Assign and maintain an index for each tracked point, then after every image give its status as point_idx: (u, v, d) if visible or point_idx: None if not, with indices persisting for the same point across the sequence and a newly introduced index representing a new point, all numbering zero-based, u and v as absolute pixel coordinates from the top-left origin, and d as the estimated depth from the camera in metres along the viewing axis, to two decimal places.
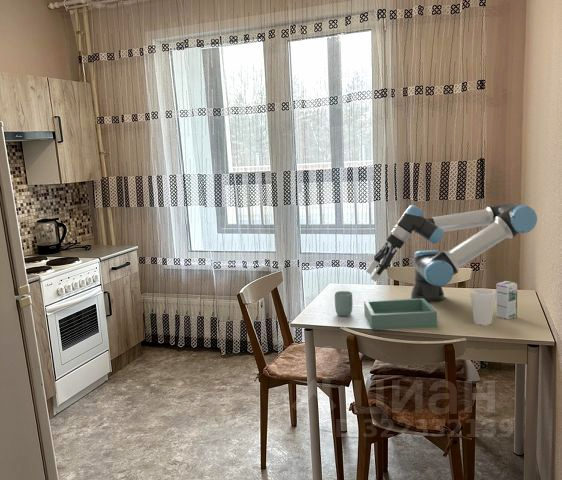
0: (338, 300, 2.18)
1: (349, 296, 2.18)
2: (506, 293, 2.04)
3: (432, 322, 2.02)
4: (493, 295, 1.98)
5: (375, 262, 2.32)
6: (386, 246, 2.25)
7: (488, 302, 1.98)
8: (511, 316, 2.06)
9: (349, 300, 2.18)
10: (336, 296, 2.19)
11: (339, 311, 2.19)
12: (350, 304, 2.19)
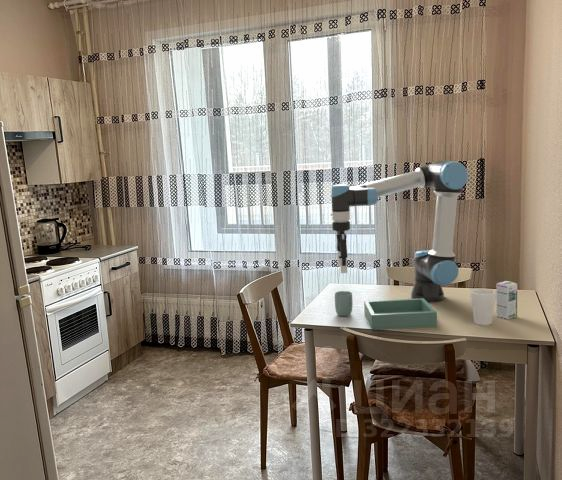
0: (338, 300, 2.18)
1: (349, 296, 2.18)
2: (506, 293, 2.04)
3: (432, 322, 2.02)
4: (493, 295, 1.98)
5: (340, 253, 2.25)
6: (337, 235, 2.17)
7: (488, 302, 1.98)
8: (511, 316, 2.06)
9: (349, 301, 2.18)
10: (336, 296, 2.19)
11: (339, 311, 2.19)
12: (350, 304, 2.19)
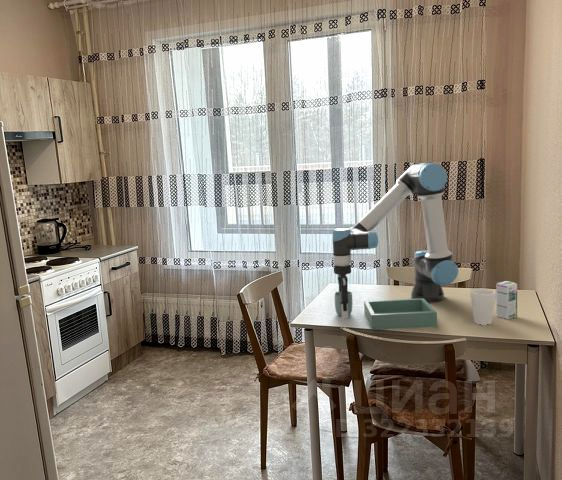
0: (338, 300, 2.18)
1: (349, 296, 2.18)
2: (506, 293, 2.04)
3: (432, 322, 2.02)
4: (493, 295, 1.98)
5: None
6: (338, 277, 2.21)
7: (488, 302, 1.98)
8: (511, 316, 2.06)
9: (349, 300, 2.18)
10: (336, 296, 2.19)
11: (339, 311, 2.19)
12: (350, 304, 2.19)
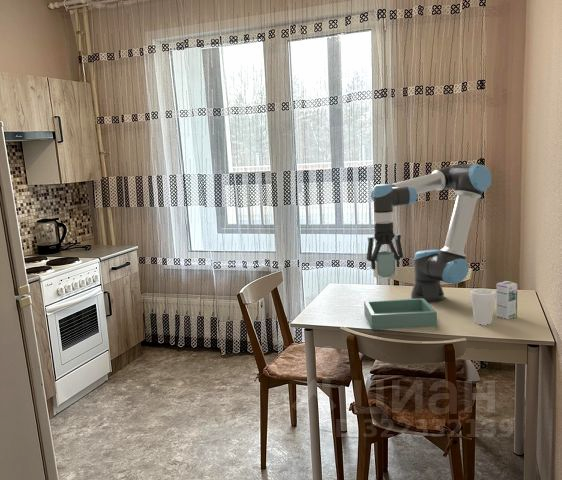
0: None
1: (379, 256, 2.07)
2: (506, 293, 2.04)
3: (432, 322, 2.02)
4: (493, 295, 1.98)
5: None
6: None
7: (488, 302, 1.98)
8: (511, 316, 2.06)
9: (379, 261, 2.08)
10: None
11: None
12: (380, 265, 2.08)
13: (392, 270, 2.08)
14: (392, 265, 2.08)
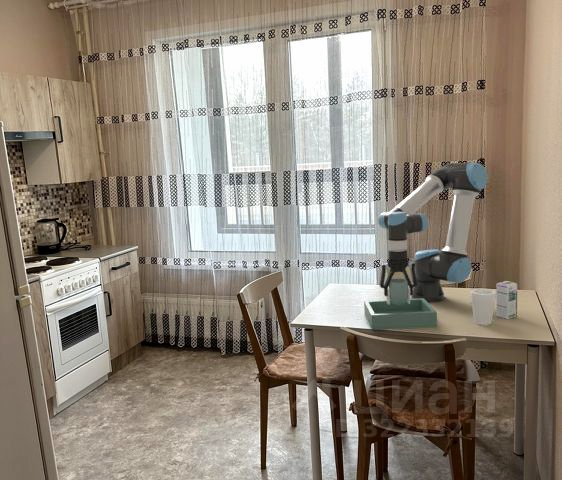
0: None
1: (391, 283, 2.07)
2: (506, 293, 2.04)
3: (432, 322, 2.02)
4: (493, 295, 1.98)
5: None
6: None
7: (488, 302, 1.98)
8: (511, 316, 2.06)
9: (391, 288, 2.08)
10: None
11: None
12: (392, 292, 2.07)
13: (404, 298, 2.07)
14: (404, 293, 2.07)
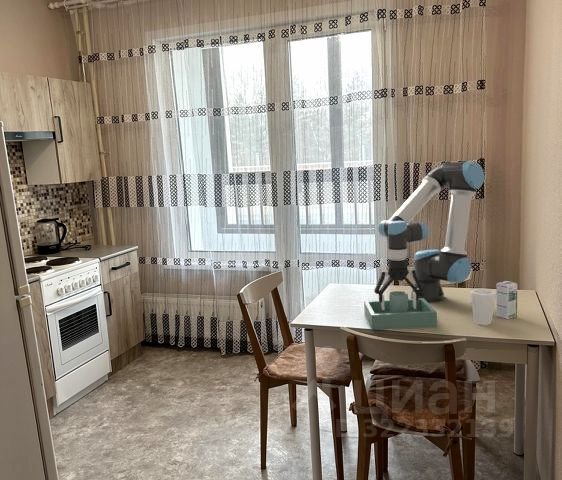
0: None
1: (391, 296, 2.08)
2: (506, 293, 2.04)
3: (432, 322, 2.02)
4: (493, 295, 1.98)
5: (413, 294, 2.10)
6: None
7: (488, 302, 1.98)
8: (511, 316, 2.06)
9: (391, 301, 2.09)
10: None
11: None
12: (393, 305, 2.09)
13: (405, 311, 2.08)
14: (405, 306, 2.08)
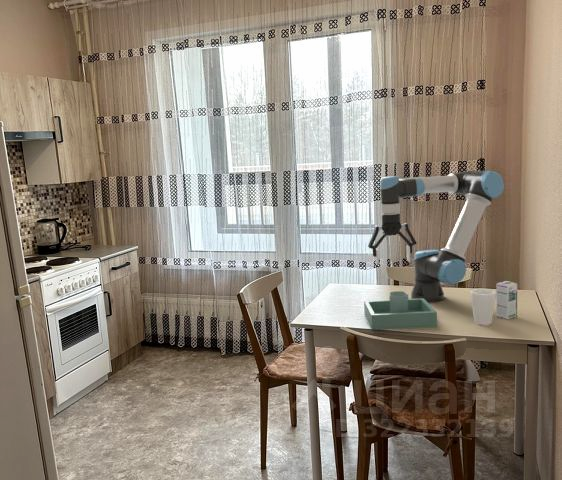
0: None
1: (392, 297, 2.08)
2: (506, 293, 2.04)
3: (432, 322, 2.02)
4: (493, 295, 1.98)
5: (407, 247, 2.15)
6: None
7: (488, 302, 1.98)
8: (511, 316, 2.06)
9: (392, 301, 2.08)
10: None
11: None
12: (393, 305, 2.08)
13: (405, 311, 2.08)
14: (405, 306, 2.08)
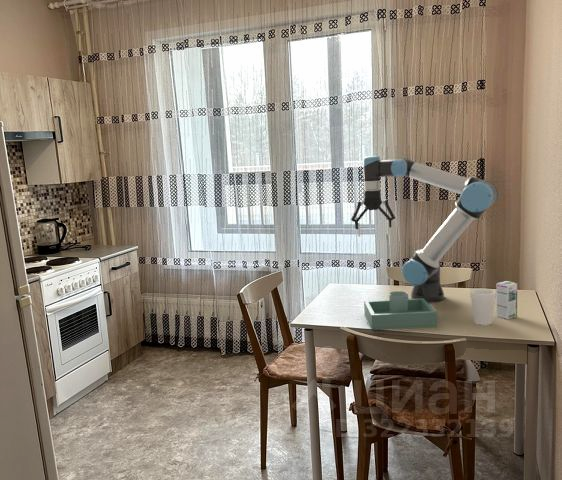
0: None
1: (392, 297, 2.08)
2: (506, 293, 2.04)
3: (432, 322, 2.02)
4: (493, 295, 1.98)
5: (386, 222, 2.36)
6: None
7: (488, 302, 1.98)
8: (511, 316, 2.06)
9: (391, 301, 2.08)
10: None
11: None
12: (393, 305, 2.08)
13: (405, 311, 2.08)
14: (405, 306, 2.08)
